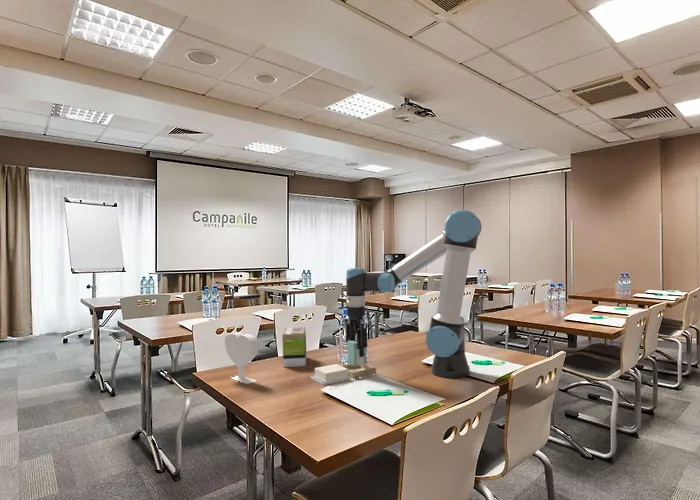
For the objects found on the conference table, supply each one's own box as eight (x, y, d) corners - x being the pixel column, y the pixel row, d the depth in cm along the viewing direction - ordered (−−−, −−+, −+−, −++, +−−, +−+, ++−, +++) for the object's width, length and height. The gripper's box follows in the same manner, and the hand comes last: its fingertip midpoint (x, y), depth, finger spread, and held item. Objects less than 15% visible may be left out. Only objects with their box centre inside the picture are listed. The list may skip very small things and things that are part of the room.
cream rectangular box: (350, 379, 156) (349, 369, 156) (322, 385, 150) (322, 374, 150) (337, 373, 165) (337, 363, 165) (310, 378, 159) (310, 368, 159)
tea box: (285, 358, 190) (284, 327, 190) (306, 357, 191) (306, 326, 191) (282, 367, 175) (282, 333, 176) (305, 366, 176) (305, 332, 176)
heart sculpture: (260, 381, 157) (259, 334, 157) (250, 384, 153) (249, 337, 153) (233, 374, 166) (233, 331, 166) (223, 378, 161) (223, 333, 162)
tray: (375, 374, 162) (375, 368, 162) (353, 379, 156) (353, 372, 156) (360, 368, 172) (360, 362, 172) (338, 372, 166) (338, 366, 166)
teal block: (366, 363, 164) (366, 341, 164) (354, 365, 161) (353, 343, 161) (359, 360, 168) (359, 339, 168) (347, 363, 165) (347, 341, 165)
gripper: (336, 304, 170) (337, 359, 170) (360, 309, 155) (361, 369, 155) (351, 302, 174) (352, 356, 174) (376, 307, 159) (376, 366, 159)
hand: (356, 362), depth 164 cm, fingers closed on teal block, 5 cm apart
